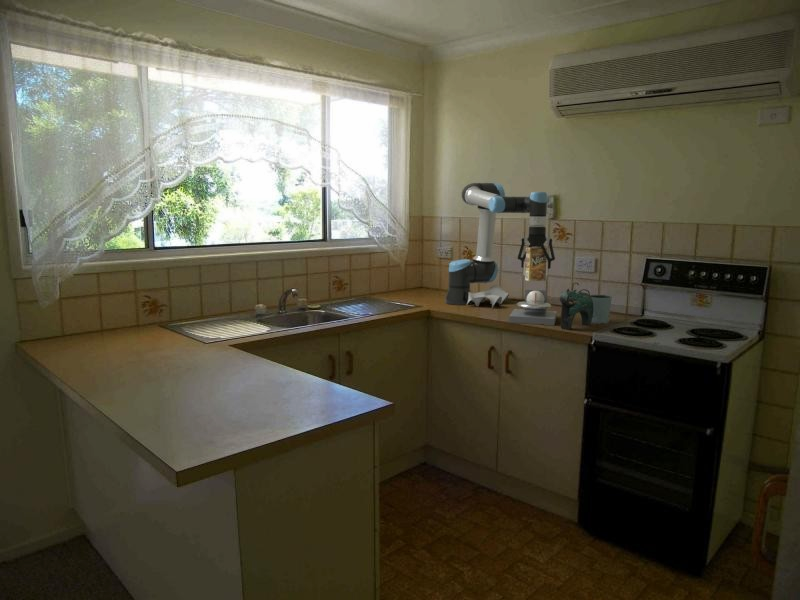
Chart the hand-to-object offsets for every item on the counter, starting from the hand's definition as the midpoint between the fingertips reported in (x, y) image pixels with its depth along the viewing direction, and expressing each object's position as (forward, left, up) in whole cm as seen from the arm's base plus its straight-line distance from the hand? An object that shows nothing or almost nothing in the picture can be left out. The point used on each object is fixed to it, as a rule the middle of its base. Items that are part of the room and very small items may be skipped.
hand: (535, 275), depth 267 cm
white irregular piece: (-27, +37, -22) cm, 51 cm away
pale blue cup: (+29, +6, -21) cm, 36 cm away
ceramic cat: (+19, -10, -21) cm, 30 cm away
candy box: (0, 0, -3) cm, 3 cm away
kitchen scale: (0, 0, -21) cm, 21 cm away
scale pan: (0, 0, -16) cm, 16 cm away
